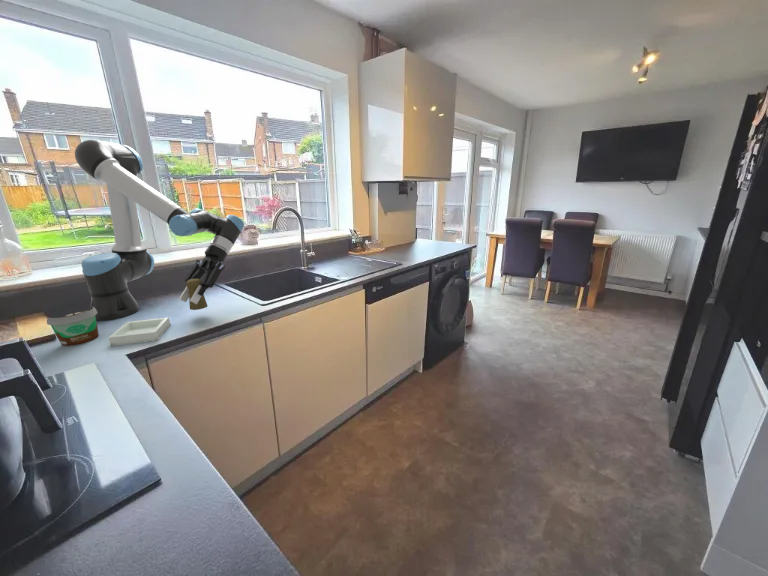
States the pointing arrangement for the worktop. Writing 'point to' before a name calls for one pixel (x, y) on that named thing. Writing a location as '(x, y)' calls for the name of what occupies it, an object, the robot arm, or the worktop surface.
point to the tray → (139, 331)
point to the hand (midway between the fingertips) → (187, 301)
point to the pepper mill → (192, 287)
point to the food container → (75, 327)
